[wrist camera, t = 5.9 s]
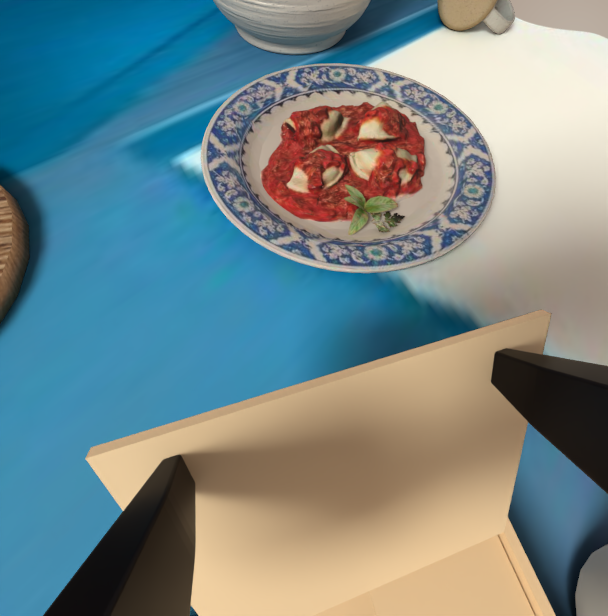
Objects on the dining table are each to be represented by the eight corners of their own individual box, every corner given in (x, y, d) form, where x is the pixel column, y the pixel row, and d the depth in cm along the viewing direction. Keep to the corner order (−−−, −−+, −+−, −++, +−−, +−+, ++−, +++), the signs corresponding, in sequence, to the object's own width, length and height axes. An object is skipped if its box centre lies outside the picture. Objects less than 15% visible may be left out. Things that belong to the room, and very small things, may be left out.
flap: (504, 531, 13) (551, 313, 8) (226, 653, 11) (85, 458, 6) (496, 522, 13) (538, 308, 9) (225, 639, 11) (92, 444, 7)
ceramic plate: (229, 78, 33) (224, 45, 30) (455, 93, 34) (470, 63, 31) (179, 276, 22) (164, 253, 20) (511, 295, 23) (540, 275, 20)
